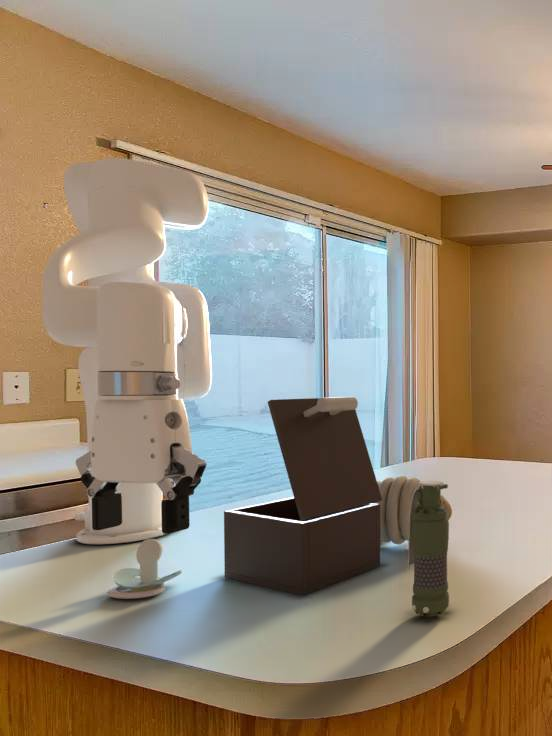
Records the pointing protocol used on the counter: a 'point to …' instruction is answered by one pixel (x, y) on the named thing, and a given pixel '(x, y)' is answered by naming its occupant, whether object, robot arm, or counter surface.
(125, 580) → the pacifier
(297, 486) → the lid
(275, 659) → the counter surface
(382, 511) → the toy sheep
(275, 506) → the dark wooden chest
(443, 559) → the grenade
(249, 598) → the counter surface
